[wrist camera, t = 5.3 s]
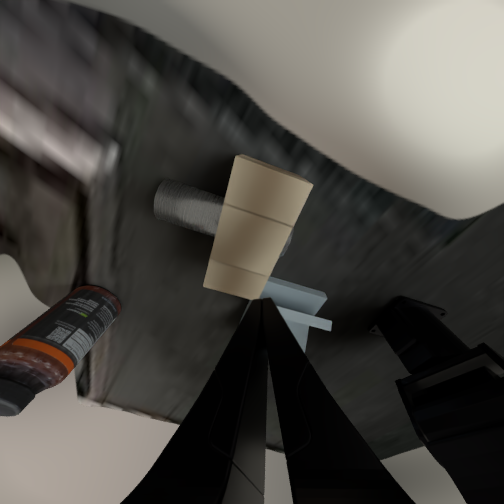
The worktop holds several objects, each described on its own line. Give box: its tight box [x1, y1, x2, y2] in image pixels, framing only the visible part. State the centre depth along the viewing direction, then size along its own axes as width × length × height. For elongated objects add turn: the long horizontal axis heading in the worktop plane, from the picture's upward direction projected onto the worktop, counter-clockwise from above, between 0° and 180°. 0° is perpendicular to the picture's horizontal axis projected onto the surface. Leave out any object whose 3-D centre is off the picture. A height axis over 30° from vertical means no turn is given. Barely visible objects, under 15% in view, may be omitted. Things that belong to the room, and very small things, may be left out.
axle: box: [154, 178, 294, 257], centre depth 16 cm, size 11×4×4 cm, turn 71°
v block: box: [239, 276, 332, 353], centre depth 21 cm, size 8×9×4 cm
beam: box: [203, 154, 313, 300], centre depth 15 cm, size 5×10×5 cm, turn 162°
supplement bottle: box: [0, 286, 121, 416], centre depth 19 cm, size 6×6×11 cm
